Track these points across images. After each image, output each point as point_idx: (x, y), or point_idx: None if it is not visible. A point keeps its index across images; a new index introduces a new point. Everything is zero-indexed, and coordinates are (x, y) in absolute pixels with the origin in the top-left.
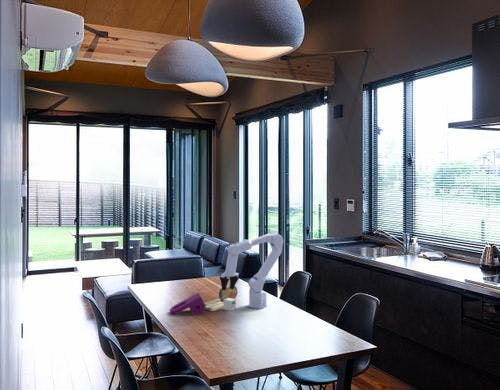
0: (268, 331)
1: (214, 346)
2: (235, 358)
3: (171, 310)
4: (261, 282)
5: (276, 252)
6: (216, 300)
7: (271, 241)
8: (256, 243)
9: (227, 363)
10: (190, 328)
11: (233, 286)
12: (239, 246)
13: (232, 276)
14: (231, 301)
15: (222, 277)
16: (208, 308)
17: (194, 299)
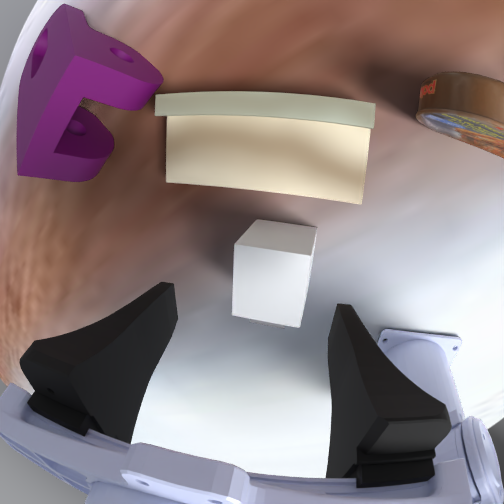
0: (134, 439)
1: (10, 346)
2: (20, 385)
3: (33, 46)
4: None
5: None
6: (305, 119)
7: None
8: None
9: (8, 377)
10: (5, 241)
11: (330, 370)
12: None
13: (294, 487)
14: (242, 312)
15: (39, 397)
16: (169, 143)
17: (21, 132)
